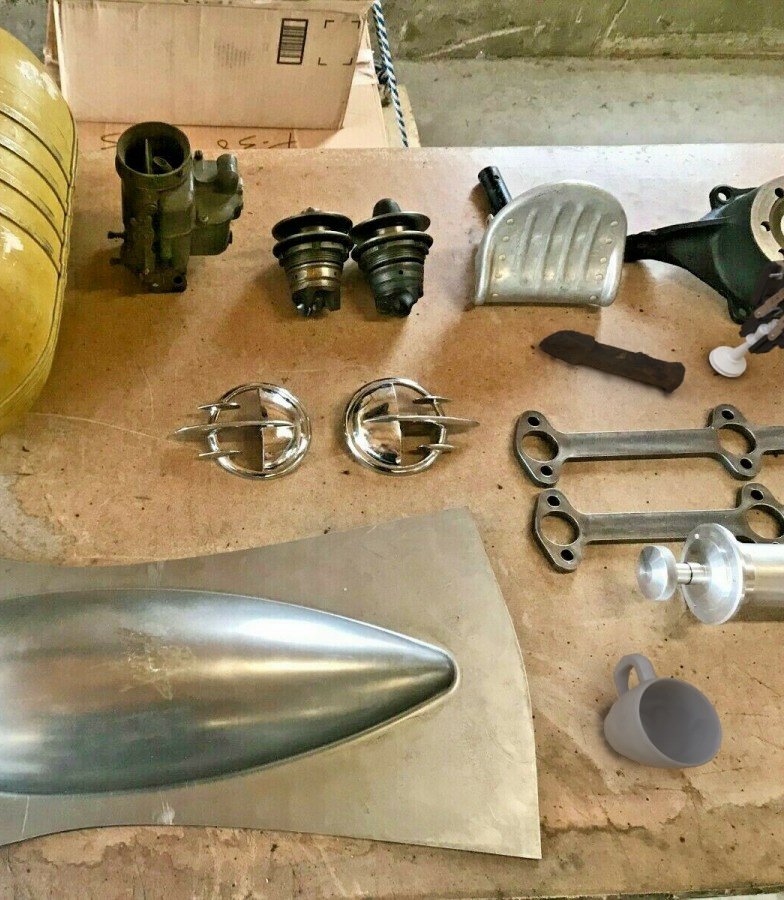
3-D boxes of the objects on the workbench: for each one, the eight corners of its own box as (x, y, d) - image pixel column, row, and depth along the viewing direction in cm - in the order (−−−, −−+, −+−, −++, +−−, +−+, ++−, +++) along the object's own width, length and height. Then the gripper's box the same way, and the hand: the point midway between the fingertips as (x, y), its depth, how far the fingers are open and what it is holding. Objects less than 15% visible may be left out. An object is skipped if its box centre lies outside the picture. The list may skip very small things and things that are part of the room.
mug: (679, 767, 87) (739, 759, 79) (606, 781, 86) (659, 773, 78) (634, 659, 93) (686, 640, 84) (565, 671, 92) (611, 652, 83)
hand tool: (670, 375, 112) (691, 356, 108) (669, 397, 110) (690, 379, 106) (539, 333, 114) (555, 313, 109) (535, 354, 112) (551, 335, 108)
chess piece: (747, 359, 113) (800, 317, 104) (738, 383, 111) (791, 342, 102) (714, 342, 114) (764, 299, 105) (704, 365, 112) (754, 324, 103)
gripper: (913, 302, 90) (799, 382, 106) (847, 211, 96) (749, 299, 112) (856, 309, 89) (750, 388, 105) (793, 217, 95) (701, 305, 111)
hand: (750, 342), depth 108 cm, fingers closed on chess piece
